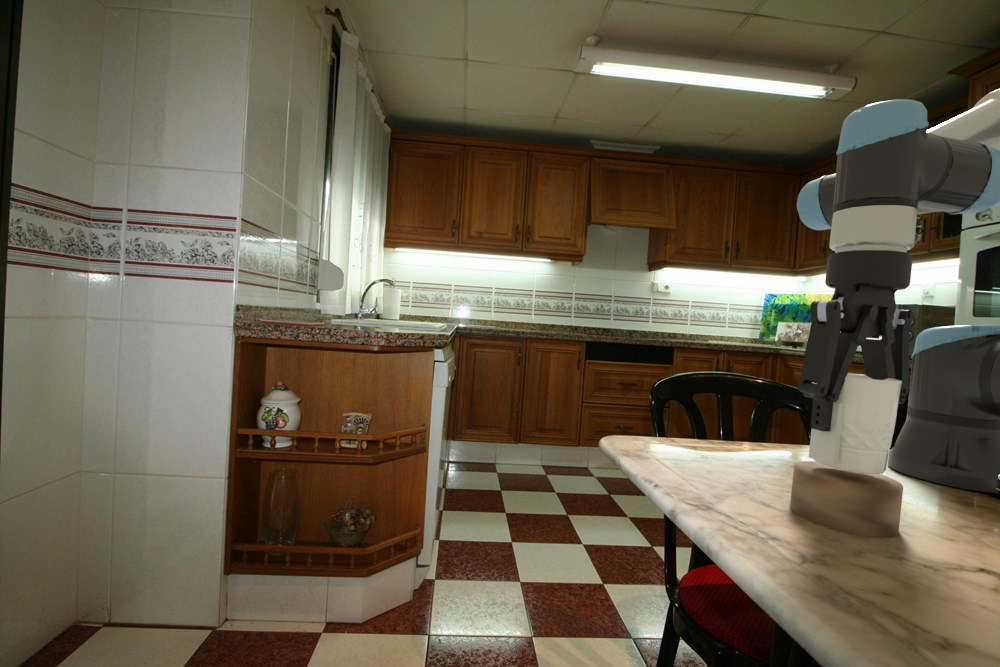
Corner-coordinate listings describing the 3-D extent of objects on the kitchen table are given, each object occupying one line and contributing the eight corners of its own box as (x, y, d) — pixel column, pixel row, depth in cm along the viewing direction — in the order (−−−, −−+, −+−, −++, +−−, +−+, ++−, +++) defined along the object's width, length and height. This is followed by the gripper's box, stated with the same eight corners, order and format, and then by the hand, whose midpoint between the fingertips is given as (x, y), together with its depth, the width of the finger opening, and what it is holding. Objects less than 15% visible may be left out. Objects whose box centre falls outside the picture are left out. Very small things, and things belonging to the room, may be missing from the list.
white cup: (863, 459, 59) (872, 374, 59) (910, 480, 52) (921, 383, 51) (793, 452, 60) (801, 369, 60) (829, 472, 52) (839, 376, 52)
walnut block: (851, 504, 61) (855, 464, 61) (924, 541, 51) (929, 493, 51) (771, 499, 61) (775, 458, 61) (829, 536, 51) (834, 487, 51)
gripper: (889, 264, 62) (871, 447, 63) (772, 244, 55) (752, 452, 55) (964, 260, 56) (942, 465, 56) (841, 236, 48) (817, 474, 49)
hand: (848, 458), depth 56 cm, fingers closed on white cup, 7 cm apart
